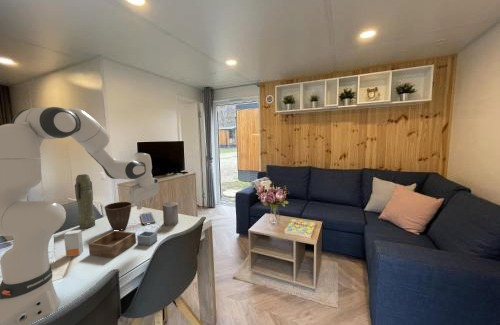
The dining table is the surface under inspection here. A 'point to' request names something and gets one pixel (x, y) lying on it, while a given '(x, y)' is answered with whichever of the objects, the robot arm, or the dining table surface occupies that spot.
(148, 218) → the solar panel
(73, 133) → the robot arm
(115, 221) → the plant pot
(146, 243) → the box
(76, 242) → the skincare box
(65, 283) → the dining table surface
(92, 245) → the big crate
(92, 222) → the thermos
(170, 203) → the pillar candle
